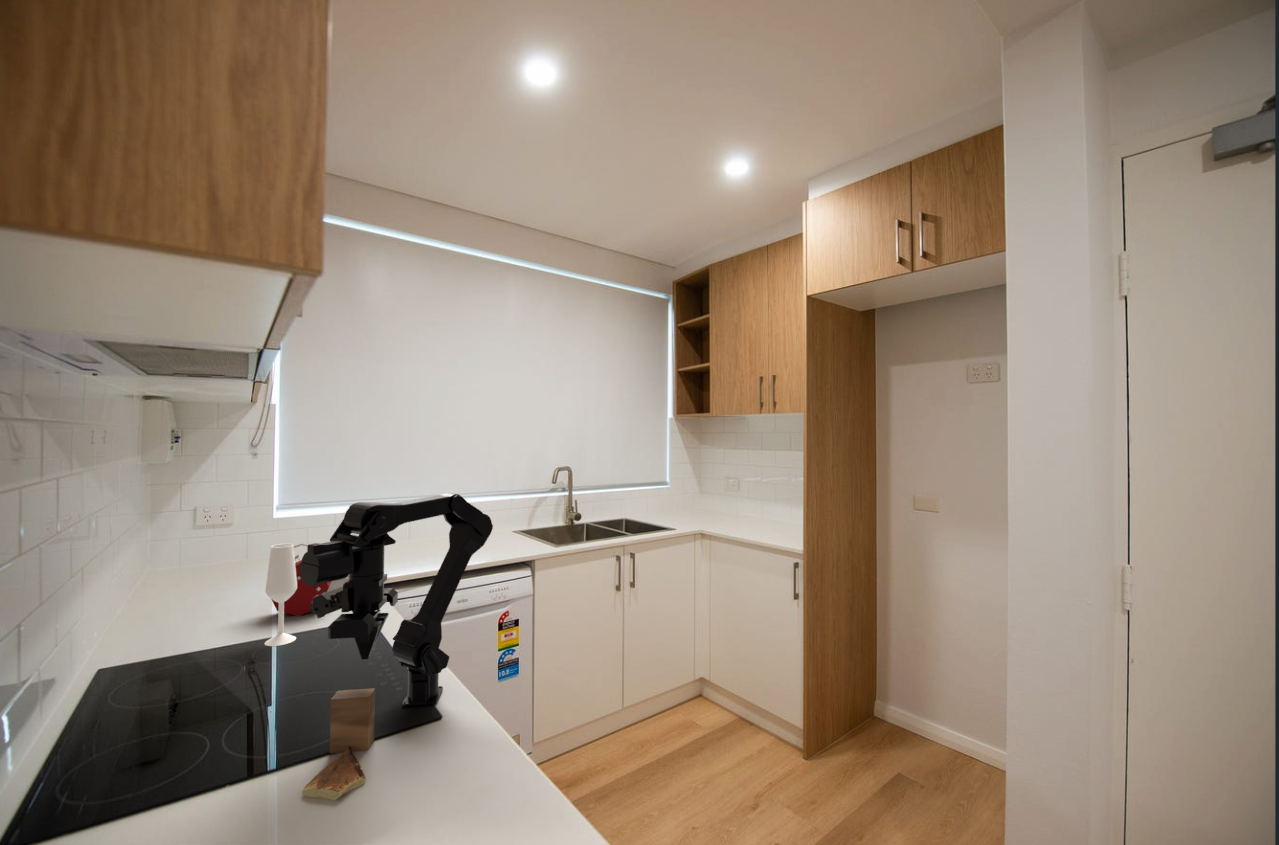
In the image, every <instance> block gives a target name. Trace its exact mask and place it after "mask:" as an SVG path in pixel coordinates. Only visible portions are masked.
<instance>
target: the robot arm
mask: <svg viewBox="0 0 1279 845" xmlns="http://www.w3.org/2000/svg"><path fill="white" fill-rule="evenodd" d="M438 516H439V517H440V516H443V518H444V522H446V523H447V524H448V525H449V526H451V527H450V530H449V533H448V537H449V538H448V542H449V548H448V550H447V552H446V554H445V556H444V559H443V561H442V563H441V565H440V566H439V569H438V571H437V573H436V574H435V575H436V576H434V579H433V581H432V584H431V586H430V588H429V590H428V592H427V594H426V597H425V599H424V601H423V602H422V604H421V606H420V609H419V611H418V613H416V615H415V616H413V617H412V618H411V620H408V619H403V620H402V621H401V623H400V624H399V628H398V631H397V633H396V634H395V635H394V636H393V637H392V641H393V644H392V646H391V647H392V648H391V651H392V655H393V657H394V658H395V659H396V660H398V662H399V666H400V667H404V668H407V694H406V696H405V698H404V700H403V701H402V703H401V704H402V705H401V706H402V707H412V706H425V705H426V706H427V705H436V704H437V703H438V702H439V700H440V697H441V694H442V692H443V689H444V688H443V686H441V685H439V675H440V673H441V672H442V671H443V670H444V669H446V668H447V667H448V663H449V660H450V656H449V655H448V654H447V653H446V652H444V651H443V650H442V649H441V648H440V645H441V642H442V639H443V636H442V634H443V632H442V622H443V620H444V617H445V614H446V612H447V611H448V609H449V606H450V604H451V601H452V599H453V598H454V596H455V593H456V591H457V588H458V587H459V584H460V582H461V579H462V578H463V575H464V573H465V571H466V569H467V566H468V564H469V562H470V560H471V558H472V556H473V555H474V554H475V553H476V552H478V551H479V550H481V548H483V547H484V546H485V544H486V542H487V540H488V539H489V538H490V536H491V534H492V531H493V529H494V525H493V522H492V518H491V517H490V516H489V515H488V514H486V513H483V511H481V510H480V509H479V508H478V507H476V506H474V505H473V504H471V503H469V502H468V501H467V500H466V499H465V498H464V497H463V496H462V495H460V494H458V493H449V492H448V493H447V492H444V493H441V494H439V495H438V494H437V495H432V496H427V497H421V498H414V499H409V500H404V501H399V502H394V503H393V502H373V501H372V502H370V501H369V502H364V501H363V502H362V501H358V502H353V503H352V504H351V505H349V508H347V510H346V511H345V514H344V516H343V519H342V520H341V522H340V523H339V525H338V527H337V528H336V530H334V532H333V534H332V536H330V538H329V541H327V542H323V543H322V542H321V543H316V542H315V543H310V544H307V545H308V546H306V547H307V548H306V550H307V551H306V552H305V553H304V554H303V555H302V558H301V560H302V561H301V563H300V574H301V578H302V580H303V582H304V583H305V584H306V585H307V586H315V585H319V584H323V583H327V582H331V581H335V580H340V579H344V578H346V577H347V576H348V575H349V580H347V581H346V582H345V583H344V584H343V587H341V588H338V589H335V590H333V591H330V592H327V593H326V592H324V593H322V594H321V595H316V596H315V597H314V598H313V601H312V603H310V604H311V609H310V611H309V612H310V613H312V614H314V615H316V617H317V619H321V618H324V617H325V616H326V615H329V614H331V613H334V612H337V611H339V610H341V614H340V615H339V616H337V618H335V619H334V620H333V622H331V623H330V624H329V626H328V627H327V639H329V640H334V639H335V640H336V639H354V641H355V643H356V644H355V645H356V647H357V649H358V652H359V656H360V659H361V660H363V661H364V660H368V659H369V658H371V657H370V656H371V655H372V652H373V650H374V647H375V645H376V643H377V641H378V639H379V636H380V634H381V632H382V629H383V627H384V624H385V623H386V621H387V619H388V617H389V612H381V611H382V610H381V608H382V607H383V606H384V605H386V603H389V605H390V607H394V606H395V605H396V604H397V603H398V599H399V598H398V596H399V593H398V591H397V590H396V589H395V588H394V587H390V588H386V587H385V582H387V581H388V580H387V577H388V573H385V546H390V545H394V544H396V542H397V540H395V539H394V538H393V537H391V536H390V535H389V534H388V533H390V532H393V531H394V530H396V529H397V528H399V526H402V525H403V524H407V523H411V522H416V521H421V520H426V519H430V518H434V517H438ZM354 534H355V535H354ZM386 580H387V581H386ZM350 612H352V613H350Z"/></svg>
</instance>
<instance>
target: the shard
mask: <svg viewBox="0 0 1279 845" xmlns="http://www.w3.org/2000/svg"><path fill="white" fill-rule="evenodd" d="M366 780H367V778H366V776H365V774H364V771H363V769H362V767H361V764H360V762H359V759H358V758H357V757H356V755H355V753H354V752H352V748H351V746H350V747H349V748H348V749H347V750H345V751H344V752H343V753H340V754H339V756H338V757H336V758H335V759H334V760H332V761H331V762H330V763H328V764H327V765H326V766H325V767H324V768H323V769H321V771H319V772H318V773H317V774H316V775H315V776H314V777H313V778H311V780H310V781H309V782H308V783H307V784H306V785H305V786H304V787H303V789H302V791H301V795H302V797H307V798H308V797H311V798H322V799H327V800H332V801H337V800H338V799H339V798H340V797H341V796H343V795H344V794H346V793H347V792H350V791H351V790H354V789H355V788H358V787H360V786H362V785H364V784H365V782H366Z"/></svg>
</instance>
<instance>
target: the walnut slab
mask: <svg viewBox="0 0 1279 845" xmlns="http://www.w3.org/2000/svg"><path fill="white" fill-rule="evenodd" d="M375 695H376V688H373V687H371V688H359V689H358V688H355V689H344V690H343V689H342V690H337V691H336V692H335V693H334V695H333V696H332V697H331V698H330V721H329V722H330V724H329V726H330V727H329V728H330V729H329V753H330V754H339V753H340V754H342V753H343V752H344V751H345V750H347V749H348V748H349V747H350V746H351V748H352V752H353V753H355V752H365V751H367V752H368V751H369V749H370V748H371V747H372V745H373V743H374V741H375V714H376V713H375V711H376V710H375V709H376V708H375V706H376V705H375V704H376V703H375V702H376V701H375V700H376V696H375Z"/></svg>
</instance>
